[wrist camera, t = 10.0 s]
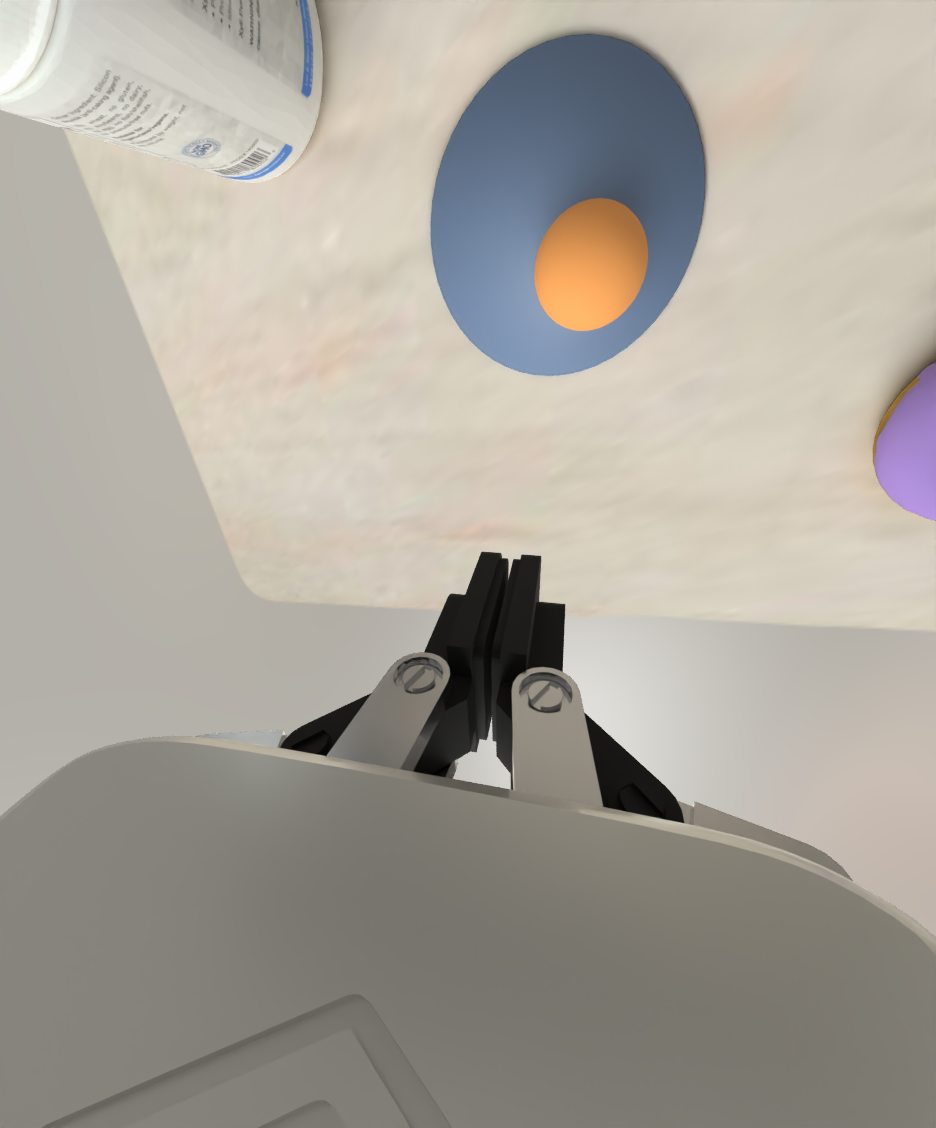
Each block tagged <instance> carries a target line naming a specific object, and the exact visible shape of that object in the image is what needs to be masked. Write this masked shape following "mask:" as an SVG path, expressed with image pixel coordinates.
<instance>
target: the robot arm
mask: <svg viewBox="0 0 936 1128" xmlns="http://www.w3.org/2000/svg"><path fill="white" fill-rule="evenodd" d="M540 572H541V556H534V555H521V559H520V560H519V559H514V560H513V564H512V568H511V572H510V576H509V580H508V559H505V558H502V555H501V553H492V552H481V555H480V557H479V560H478V563H477V565H476V568H475V570H474V573H473V576H472V578H471V581H470V584H469V586H468V589H467V592H466V594H465V595H461V594H450V595H449V596H448V598H447V601H446V603H445V605H444V608H443V610H442V612H441V615H440V617H439V619H438V621H437V624H436V626H435V628H434V631H433V633H432V636H431V638H430V640H429V642H428V645H427V647H426V649H425V652H420V653H413V654H410V655H407V656H404V657H402V658H401V659H399V660H397V661H396V662H395V663H394V664H393V665H392V666H391V667H390V669H389V670H388V672H387V673H386V674H385V676H384V677H383V678H382V680H381V681H380V682H379V684H378V685H377V687H376V688H375V689H374V691H373V692H372V693H371V694H369V695H367V696H364V697H362V698H360V699H358V700H356V701H354V702H352V703H350V704H348V705H345V706H343V707H341V708H339V709H337V710H335V711H333V712H331V713H328V714H326V715H325V716H322V717H320V718H318V719H316V720H314V721H312V722H309V723H307V724H305V725H303V726H301V727H300V728H298V729H297V730H295V731H293V732H292V733H291V734H290V735H286V734H285V732H284V730H276V731H257V732H238V733H218V734H205V735H199V736H195V737H192V736H166V737H152V738H143V739H137V740H133V741H126V742H121V743H117V744H113V745H109V746H106V747H103V748H100V749H97V750H94V751H91V752H89V753H87V754H84V755H82V756H80V757H78V758H76V759H75V760H73V761H71V762H70V763H68V764H67V765H65V766H63V767H62V768H60V769H59V770H57V771H56V772H55V773H53V774H52V775H50V776H49V777H48V778H46V779H45V780H44V781H43V782H41V783H40V784H39V785H37V786H36V787H35V788H34V789H33V790H31V791H30V792H29V793H28V794H26V795H25V796H24V797H23V798H21V799H20V800H19V801H18V802H17V803H15V804H14V805H13V806H12V807H10V808H9V809H8V810H7V811H6V812H5V813H4V814H2V815H1V816H0V1128H936V937H935V936H934V935H933V934H931V933H930V932H929V931H928V930H927V929H925V928H924V927H923V926H922V925H921V924H919V923H918V922H917V921H916V920H914V919H913V918H912V917H910V916H909V915H907V914H906V913H904V912H903V911H901V910H900V909H898V908H897V907H896V906H894V905H893V904H891V903H889V902H888V901H886V900H885V899H883V898H881V897H880V896H878V895H876V894H875V893H873V892H872V891H870V890H868V889H866V888H865V887H863V886H861V885H859V884H857V883H855V882H854V881H853V880H852V879H851V878H850V876H849V875H848V874H847V872H846V871H845V870H844V869H843V867H841V866H840V865H839V864H838V863H837V862H836V861H834V860H833V859H832V858H831V857H830V856H828V855H827V854H826V853H824V852H822V851H820V850H818V849H816V848H815V847H813V846H811V845H808V844H806V843H803V842H801V841H798V840H796V839H793V838H790V837H788V836H785V835H782V834H779V833H777V832H774V831H772V830H769V829H766V828H764V827H761V826H759V825H756V824H753V823H751V822H748V821H745V820H743V819H740V818H737V817H735V816H732V815H729V814H726V813H724V812H721V811H719V810H716V809H713V808H711V807H708V806H706V805H703V804H700V803H697V802H694V804H693V806H690V805H687V804H685V803H682V802H680V801H677V800H676V798H675V797H674V796H673V794H672V793H671V792H670V791H669V790H668V789H667V788H666V786H665V785H663V784H662V783H661V782H660V781H659V780H658V779H657V778H656V777H655V776H653V775H652V774H651V773H650V772H649V771H648V770H647V769H646V768H645V767H644V766H643V765H641V764H640V763H639V762H638V761H637V760H636V759H635V758H634V757H633V756H632V755H630V754H629V753H628V752H627V751H626V750H625V749H624V748H623V747H622V746H621V745H619V744H618V743H617V742H616V741H615V740H614V739H613V738H612V737H611V736H610V735H608V734H607V733H606V732H605V731H604V730H603V729H602V728H601V727H600V726H599V725H597V724H596V723H595V722H594V721H593V720H592V719H591V718H589V716H587V715H586V714H585V713H584V709H583V704H582V699H581V695H580V691H579V688H578V686H577V684H576V683H575V682H574V680H572V678H571V677H570V676H568V675H566V674H565V673H563V672H562V671H563V669H562V668H563V647H564V621H565V604H557V603H547V602H539V590H540ZM491 717H492V727H493V729H492V730H493V741H496V743H497V745H496V746H497V757H498V758H499V759H500V761H501V762H502V763H503V765H504V766H505V767H506V768H507V770H508V771H509V772H510V789H504V788H499V787H493V786H488V785H483V784H477V783H472V782H466V781H461V780H455V779H453V776H454V774H455V772H456V768H457V764H458V758H460V757H462V756H463V755H465V754H466V753H468V752H470V751H472V752H477V747H478V743H479V739H483V740H486V739H487V737H488V732H489V727H490V722H491Z"/></svg>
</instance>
